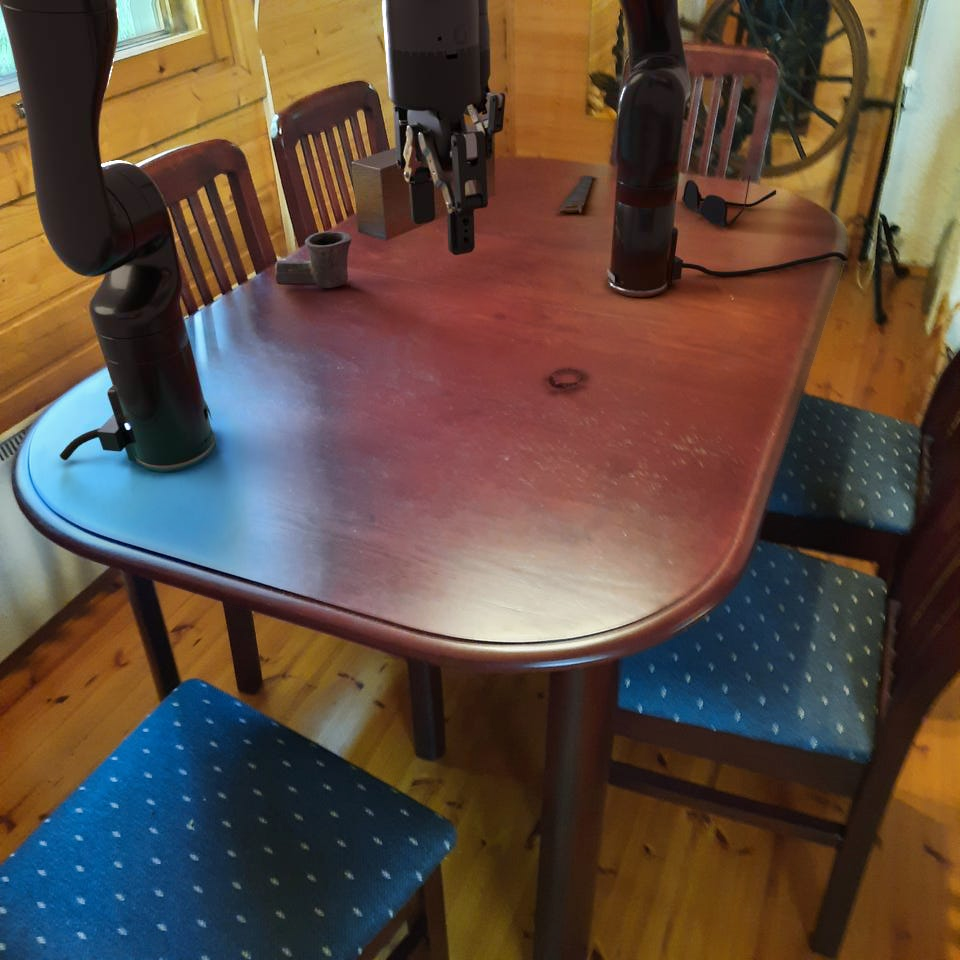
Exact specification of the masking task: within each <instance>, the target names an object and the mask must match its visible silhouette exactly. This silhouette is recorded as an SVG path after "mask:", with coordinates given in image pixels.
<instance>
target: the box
mask: <svg viewBox="0 0 960 960" xmlns="http://www.w3.org/2000/svg"><path fill="white" fill-rule="evenodd" d="M465 124H466V129H467V132H477V131H478V129H477V126H476V125H475V124H468V123H465ZM492 143H493V148H492V149H493V153H492V155H491V157H490V158H489V159H486V171H487V195H488V199H489V198H492V197H494V196H496V133H495V134H493V136H492ZM405 145H406V144H405ZM350 163H351V172H352V173H351V174H352V175H351V176H352V183H353V193H354V194H353V195H354V203H355V212H356V213H355V214H356V222H357V232H358V233H359V234H361V235H366V236H368V237H372V238H374V239H379V240H382V241H385V242H387V241H390V240H392V239H395V238H397V237H399V236H401V235H403V234H407V233H409V232H411V231H413V230H415V229H419V228H420V227H423V226H426V225H428V224H430V223H431V222H427V223H422V224H416V223H415V222H413V221H412V219H411V210H410V196H409V183H410V182H407V181H406V179H405V177H404V169H401V170H399V169H398V166H397V164H396V146H394V147H392V148H389V149H387V150H383V151H381V152H378V153H377V152H376V153H374V154H371V155H368V156H365V157H362V158H360V159H356V160H353V161H350ZM447 173H449V172H447ZM430 179H431V180H432V181H433V178H429V180H430ZM473 184H474V188H475V191H476V180H473ZM452 189H453V192H454V185H453V186H452ZM454 196H455V195H454ZM434 199H435V219H434V220H433V221H432V222H434V221H438V220H439V219H442V218H444V217H447V211H448V210H447V206H446V203H445V199H444V196H443V193H442V190H441V189H440V188H437V187H436V186H435V185H434Z"/></svg>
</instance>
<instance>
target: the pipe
mask: <svg viewBox="0 0 960 960" xmlns="http://www.w3.org/2000/svg"><path fill="white" fill-rule="evenodd" d="M304 243H305V246H306V249H307V253H308V257H309V260H306V261H294V260H293V261H291V260H276V261H275V268H274V271H275V282H276V284H277V285H279V286H281V285H282V286H317V287H318V286H319V287H320V288H323V289H333V288H338V287H341V286H343V285H345V284H347V282H348V280H349V274H348V258H349V257H348V256H349V251H350V246H351V243H352V237H351V236H350V235H349V234H348V233H346V232H342V231H332V230H331V231H329V230H327V231H319V232H315V233H313V234H311V235H308V237H306V239H305V240H304Z"/></svg>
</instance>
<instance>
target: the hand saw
mask: <svg viewBox="0 0 960 960" xmlns="http://www.w3.org/2000/svg"><path fill="white" fill-rule="evenodd" d="M593 179H594V176H592V175H583V177H582V178H581V180H580V181H579V182H578V183H577V185H576V186H575V187H574V188H573V190H572V191H571V192H570V194H569V195H568V196H567V197H566V198H565V200H564V201H563V202H562V203H561V205H560V206H559V208H560V210H559V212H558V213H559V214H564V213H566V214H568V213H569V214H575V213H579V214H580V215H581V214H582V213H583V209H584V208H585V203H586V200H587V197H588V193H589V191H590V188H591V185H592V182H593Z"/></svg>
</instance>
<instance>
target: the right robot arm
mask: <svg viewBox="0 0 960 960" xmlns="http://www.w3.org/2000/svg"><path fill="white" fill-rule="evenodd" d="M618 2H619V5H620V8H621V11H622V13H623V18H624V21H625V22H624V23H625V28H626V35H627V48H628V77H627V78H626V80H625V82H624V84H623V85H622V88H621V90H620V94H619V98H618V106H617V117H616V118H617V120H616V122H617V123H616V141H615V162H616V180H615V195H614V208H613V222H612V223H613V224H612V234H611V235H612V238H611V248H610V249H611V251H610V261H609V263H610V264H609V268H608V267H607V268H606V275H607V276H608V281H607V282H608V283H607V286H608V288H609V289H610V290H611V291H613V292H614V293H616V294H619V295H622V296H626V297H631V298H632V297H633V298H647V297H649V298H650V297H654V296H658V295H661V294H662V293H664V292H665V291H666V290H667V289H668V288H671V287H672V286H673V281H678V280H681V279H682V272H683V269H689V270H690V269H691V270H696V271H699V272H701V273H703V274H705V275H708V276H713V277H739V276H740V277H742V276H749V275H754V274H760V273H768V272H773V271H778V270H783V269H787V268H791V267H794V266H798V265H802V264H808V263H812V262H813V263H814V262H818V261H822V260H825V259H828V258H833V257H834V258H839V259H840V260H842V261H844V262H846V261H849V259H848V257H847V256H846V255H845V254H844V253H841V252H839V251H831V252H826V253H823V254H819V255H816V256H811V257H805V258H800V259H796V260H792V261H787V262H784V263H779V264H776V265H771V266H763V267H756V268H751V269H745V270H744V269H743V270H735V271H734V270H733V271H719V270H718V271H717V270H711V269H708V268H706V267H705V266H702V265H699V264H695V263H688V262H684V260H683V258H681V257H679V256H677V255H676V252H677V245H678V238H679V237H678V235H679V229H678V227H676V226H674V225H675V217H676V207H677V200H678V199H677V198H678V188H679V181H680V180H679V179H680V173H681V165H682V164H681V146H682V136H683V127H684V118H685V112H686V109H687V108H688V104H689V102H690V98H691V94H692V83H691V78H690V73H689V67H688V63H687V58H686V53H685V49H684V42H683V37H682V30H681V24H680V23H681V22H680V16H679V0H618ZM478 7H479V48H480V97H479V99H478V100H477V101H476V102H475V103H474V104H472V105H469V106H468V107H467V108H466V109H465V110H464V115H466V116H468V117H470V119H471V121H472V123H473V125H475V126H477V129H478V131H482V132H483V133H484V136H485V148H486V159H489V158H490V157H491V155H492V153H493V149H492V148H493V143H492V136H493V134H495V135H496V134H497V133H501V132H502V131H503V130H504V120H505V119H504V118H505V107H506V94H505V93H504V92H499V93H497V92H496V93H495V92H493V91H491V89H490V86H489V79H490V77H491V29H490V27H491V26H490V20H489V0H478ZM480 114H481V115H480Z"/></svg>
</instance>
